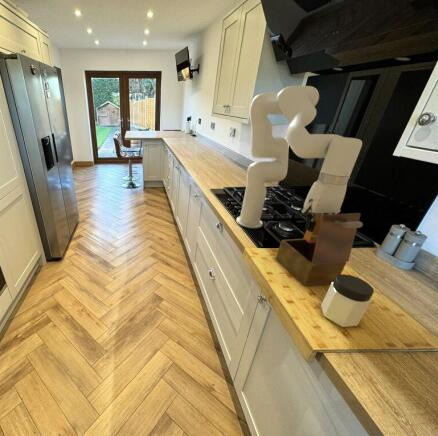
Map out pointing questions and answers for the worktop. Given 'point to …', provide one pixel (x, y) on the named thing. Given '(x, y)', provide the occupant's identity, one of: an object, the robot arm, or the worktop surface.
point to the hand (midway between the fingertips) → (314, 229)
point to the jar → (347, 300)
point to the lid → (336, 237)
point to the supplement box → (312, 236)
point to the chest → (306, 263)
